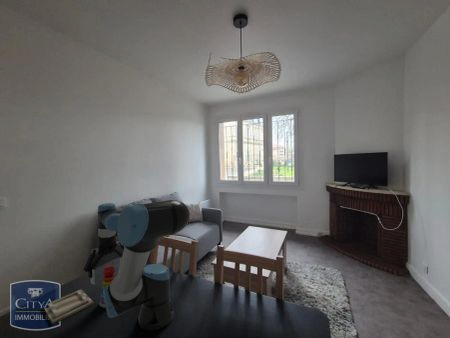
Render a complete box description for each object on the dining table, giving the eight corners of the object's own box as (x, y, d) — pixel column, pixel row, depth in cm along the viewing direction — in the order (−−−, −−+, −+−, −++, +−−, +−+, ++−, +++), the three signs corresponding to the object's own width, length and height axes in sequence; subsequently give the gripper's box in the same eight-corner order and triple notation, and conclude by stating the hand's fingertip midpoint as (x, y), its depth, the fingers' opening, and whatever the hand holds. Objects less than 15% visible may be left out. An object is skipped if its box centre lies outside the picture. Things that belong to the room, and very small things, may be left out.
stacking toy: (109, 309, 99) (108, 271, 98) (95, 307, 100) (94, 269, 99) (121, 298, 106) (120, 263, 106) (107, 296, 108) (107, 261, 107)
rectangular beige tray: (93, 304, 102) (93, 299, 102) (52, 324, 90) (52, 319, 90) (81, 291, 112) (81, 287, 112) (42, 308, 99) (42, 303, 99)
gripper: (128, 226, 114) (128, 264, 115) (74, 241, 94) (75, 286, 95) (135, 230, 109) (135, 269, 111) (80, 245, 90) (81, 292, 91)
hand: (108, 277), depth 103 cm, fingers open, 13 cm apart
